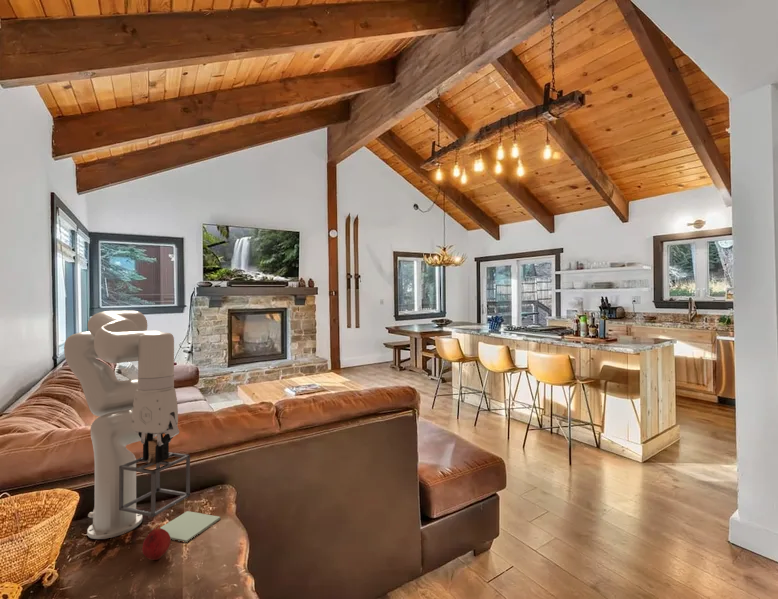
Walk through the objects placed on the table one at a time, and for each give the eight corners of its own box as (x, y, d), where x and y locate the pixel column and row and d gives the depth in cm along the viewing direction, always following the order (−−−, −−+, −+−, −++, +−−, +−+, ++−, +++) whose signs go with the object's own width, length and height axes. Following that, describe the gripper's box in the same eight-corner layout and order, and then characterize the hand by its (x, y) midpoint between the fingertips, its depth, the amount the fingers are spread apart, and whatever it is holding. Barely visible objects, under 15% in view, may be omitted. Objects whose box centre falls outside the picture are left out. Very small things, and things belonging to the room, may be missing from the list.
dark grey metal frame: (118, 510, 90) (119, 444, 91) (157, 490, 100) (158, 431, 101) (152, 517, 87) (153, 449, 88) (189, 495, 97) (190, 434, 97)
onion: (157, 569, 90) (157, 533, 90) (136, 566, 91) (136, 531, 91) (175, 553, 95) (175, 520, 96) (155, 551, 96) (155, 518, 97)
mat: (151, 535, 103) (151, 533, 103) (187, 513, 115) (187, 511, 115) (186, 542, 100) (186, 540, 100) (220, 518, 111) (220, 516, 111)
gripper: (116, 384, 93) (115, 461, 93) (169, 388, 88) (169, 469, 88) (144, 379, 101) (144, 450, 100) (195, 382, 95) (195, 457, 95)
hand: (155, 458), depth 94 cm, fingers closed on dark grey metal frame, 3 cm apart
